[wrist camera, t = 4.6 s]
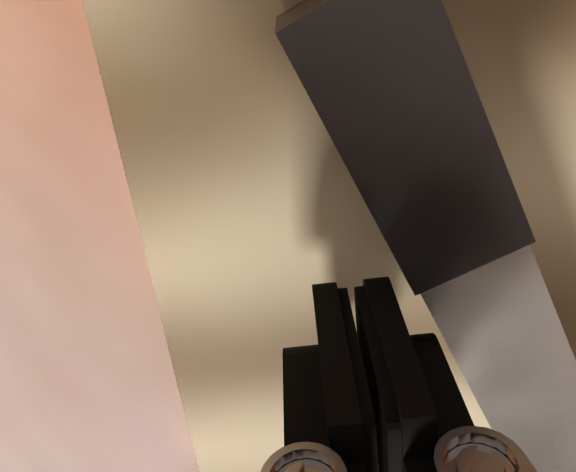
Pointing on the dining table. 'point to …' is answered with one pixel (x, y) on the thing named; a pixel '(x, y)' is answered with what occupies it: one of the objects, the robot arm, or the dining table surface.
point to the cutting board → (300, 190)
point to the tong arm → (442, 203)
